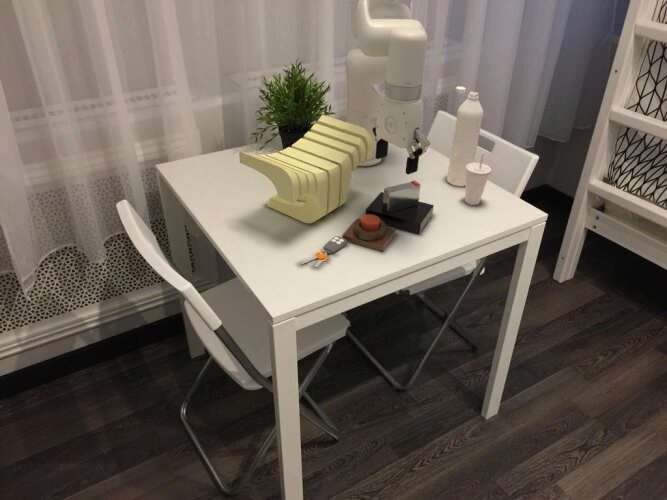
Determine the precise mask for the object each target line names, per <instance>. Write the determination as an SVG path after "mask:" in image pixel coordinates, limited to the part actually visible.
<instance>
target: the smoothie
mask: <svg viewBox="0 0 667 500" xmlns="http://www.w3.org/2000/svg"><path fill="white" fill-rule="evenodd" d="M484 155H485V152H484V151H483V152H481V155H480V160H479V162H474V163H469V164H467V165H466V168H465V171H466V186H465V191H464V202H465V203H466V204H467V205H471V206H477V205H479V204H480V202H481V199H482V196H483V193H484V191H485V188H486V184H487V183H488V179H489V176H490V175H491V174H492V168H491V166H489V165H487V164H485V163H483V160H484V157H485V156H484Z"/></svg>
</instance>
